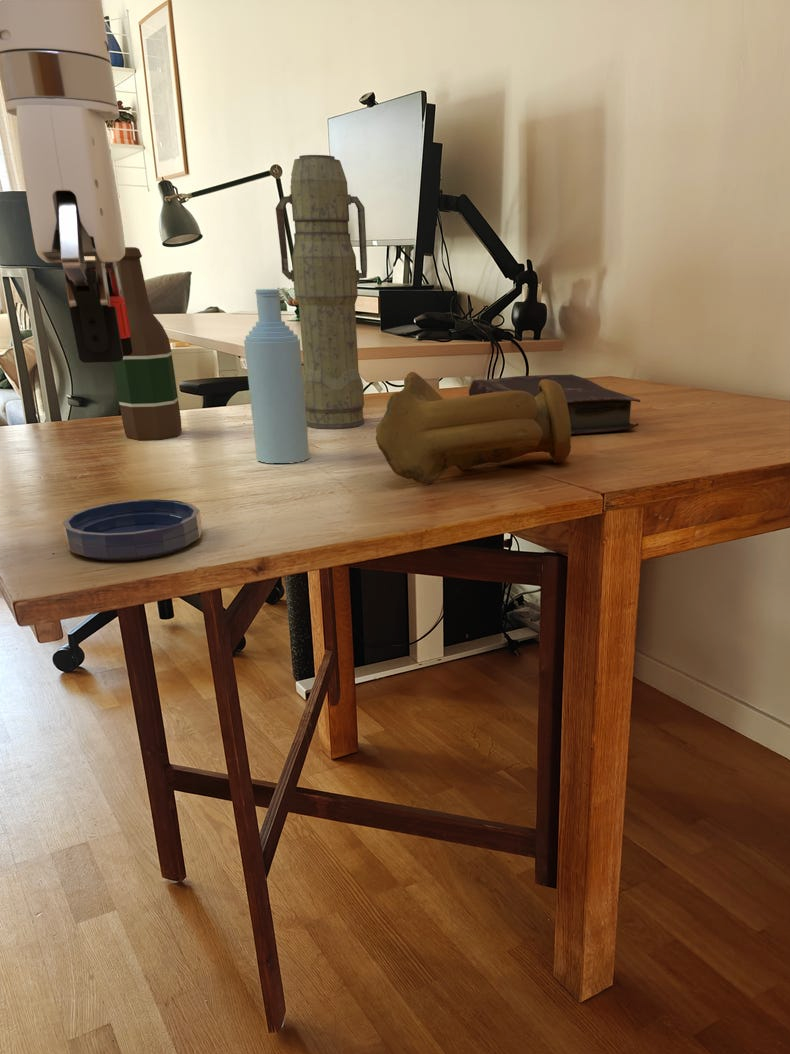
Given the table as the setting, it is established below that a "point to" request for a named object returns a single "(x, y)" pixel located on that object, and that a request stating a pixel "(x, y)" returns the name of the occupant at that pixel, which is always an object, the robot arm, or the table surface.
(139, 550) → the dish
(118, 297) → the cap
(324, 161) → the thermos
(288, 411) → the bottle
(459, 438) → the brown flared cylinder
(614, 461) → the table surface
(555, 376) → the diary
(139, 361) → the beer bottle
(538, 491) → the table surface
